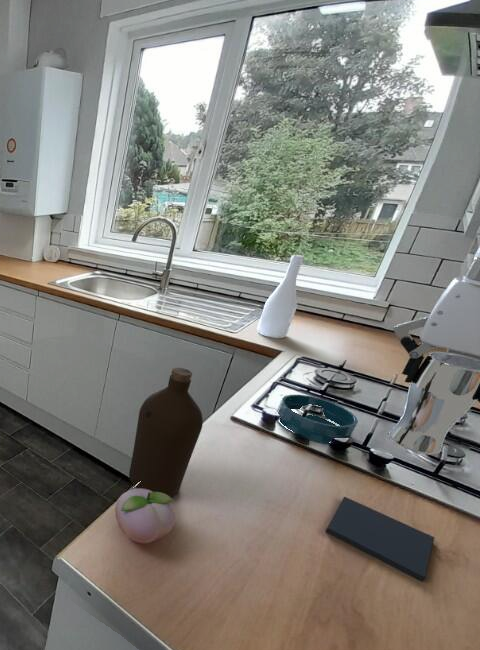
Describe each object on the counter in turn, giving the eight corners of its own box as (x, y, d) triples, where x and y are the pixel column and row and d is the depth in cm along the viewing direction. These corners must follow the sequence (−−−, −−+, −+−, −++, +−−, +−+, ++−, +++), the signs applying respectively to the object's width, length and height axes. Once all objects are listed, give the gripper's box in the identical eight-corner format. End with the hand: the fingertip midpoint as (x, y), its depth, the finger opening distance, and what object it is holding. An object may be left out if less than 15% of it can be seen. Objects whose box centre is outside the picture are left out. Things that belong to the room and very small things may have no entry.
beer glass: (372, 429, 70) (413, 350, 63) (414, 431, 69) (459, 351, 63) (410, 456, 63) (460, 370, 57) (457, 457, 63) (512, 371, 57)
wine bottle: (250, 330, 160) (275, 253, 147) (269, 328, 162) (295, 252, 149) (272, 339, 151) (301, 258, 139) (292, 337, 154) (321, 257, 141)
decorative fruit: (140, 511, 75) (150, 468, 71) (176, 546, 68) (190, 501, 64) (98, 526, 71) (107, 482, 67) (132, 565, 65) (144, 518, 60)
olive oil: (170, 510, 75) (204, 392, 65) (116, 481, 82) (139, 370, 71) (190, 482, 82) (224, 371, 71) (139, 457, 89) (163, 353, 78)
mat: (431, 541, 69) (434, 537, 69) (422, 581, 63) (425, 577, 62) (342, 500, 78) (344, 496, 78) (325, 531, 71) (327, 527, 71)
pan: (355, 430, 99) (363, 412, 97) (340, 453, 91) (349, 435, 89) (285, 405, 109) (292, 388, 107) (266, 424, 101) (273, 406, 99)
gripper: (618, 284, 51) (534, 405, 58) (421, 260, 63) (373, 363, 70) (626, 294, 46) (535, 424, 54) (414, 266, 59) (363, 375, 66)
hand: (443, 388), depth 62 cm, fingers closed on beer glass, 7 cm apart
